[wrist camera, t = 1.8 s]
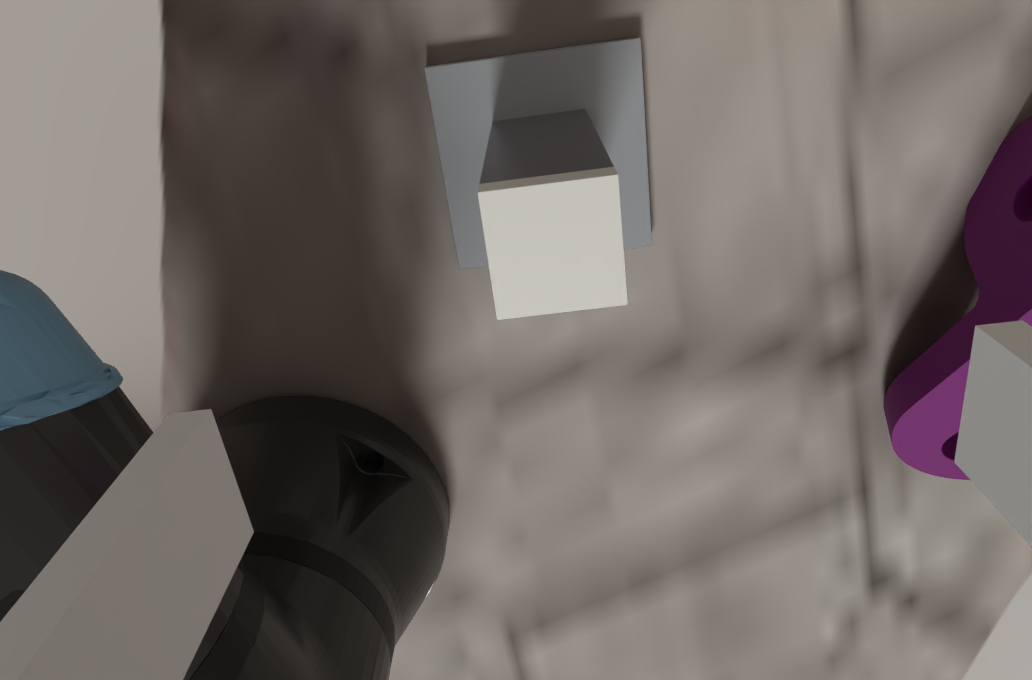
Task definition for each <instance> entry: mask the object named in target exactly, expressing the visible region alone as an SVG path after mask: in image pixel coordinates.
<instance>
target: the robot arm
mask: <svg viewBox="0 0 1032 680" xmlns="http://www.w3.org/2000/svg"><path fill="white" fill-rule="evenodd" d="M122 381H123V378H122V376H121V375H120V373H119V372H118V370H117V369H116V368H115V367H114V366H111V365H108V364H106V363H103V362H102V361H101V359H100V358H99V357H98V356H97V355H96V353H95V352H94V351H93V350H92V349H91V347H90V346H89V345H88V344H87V343H86V341H85V340H84V339H83V338H82V337H81V335H80V334H79V333H78V332H77V330H76V329H75V328H74V327H73V326H72V324H71V323H70V322H69V321H68V320H67V318H66V317H65V316H64V315H63V314H62V312H61V311H60V310H59V309H58V308H57V306H56V305H55V304H54V303H53V302H52V300H51V299H50V298H49V297H48V296H47V295H46V294H45V293H44V292H43V291H42V290H41V289H40V288H39V287H37V286H36V285H34V284H33V283H32V282H30V281H28V280H26V279H25V278H22V277H20V276H18V275H15V274H12V273H8V272H5V271H1V270H0V680H389V674H390V667H391V662H392V657H393V652H394V648H395V645H396V643H397V642H398V640H399V639H400V637H401V636H402V634H403V632H404V631H405V629H406V628H407V626H408V625H409V623H410V622H411V620H412V618H413V617H414V615H415V614H416V612H417V610H418V609H419V607H420V606H421V604H422V602H423V601H424V599H425V597H426V596H427V595H428V593H429V592H430V590H431V588H432V587H433V585H434V583H435V581H436V580H437V577H438V575H439V572H440V570H441V567H442V564H443V560H444V556H445V550H446V543H447V536H448V528H449V506H448V500H447V496H446V492H445V489H444V486H443V483H442V481H441V479H440V477H439V474H438V473H437V471H436V469H435V467H434V466H433V464H432V463H431V461H430V460H429V458H428V457H427V456H426V455H425V453H424V452H423V451H422V450H421V449H420V448H419V446H418V445H417V444H416V443H415V442H414V441H413V440H412V439H410V438H409V437H408V436H407V435H406V434H405V433H403V432H402V431H401V430H399V429H398V428H397V427H395V426H394V425H392V424H391V423H389V422H388V421H386V420H384V419H383V418H381V417H379V416H377V415H375V414H373V413H371V412H369V411H367V410H364V409H362V408H359V407H356V406H354V405H350V404H347V403H344V402H340V401H336V400H331V399H326V398H319V397H308V396H287V397H277V398H270V399H265V400H260V401H257V402H253V403H250V404H247V405H244V406H242V407H239V408H237V409H235V410H233V411H231V412H229V413H227V414H226V415H224V416H222V417H221V418H219V419H218V420H216V421H215V418H214V416H213V413H212V410H211V409H206V410H196V411H187V412H178V413H169V414H168V416H167V417H166V418H165V419H164V420H163V422H162V423H161V424H160V425H159V427H158V428H157V429H156V430H155V432H154V433H153V431H152V430H151V429H150V428H149V426H148V425H147V424H146V422H145V421H144V419H143V418H142V417H141V415H140V414H139V413H138V411H137V410H136V409H135V407H134V406H133V405H132V403H131V402H130V401H129V399H128V398H127V397H126V395H125V394H124V392H123V391H122V390H121V388H120V387H119V385H120V384H121V383H122ZM954 462H955V464H956V465H957V466H958V467H959V468H960V469H961V470H962V471H963V472H964V473H965V475H966V476H967V477H968V478H969V479H970V480H971V481H972V482H973V483H974V484H975V485H976V487H977V488H978V489H979V490H980V491H981V492H982V493H983V494H984V495H985V496H986V498H987V499H988V500H989V501H990V502H991V503H992V504H993V505H994V506H995V507H996V508H997V510H998V511H999V512H1000V513H1001V514H1002V515H1003V516H1004V517H1005V518H1006V519H1007V521H1008V522H1009V523H1010V524H1011V525H1012V526H1013V527H1014V528H1015V529H1016V530H1017V531H1018V533H1019V534H1020V535H1021V536H1022V537H1023V538H1024V539H1025V540H1026V541H1027V542H1028V544H1029V545H1030V546H1031V547H1032V326H1030V325H1029V324H1027V323H1026V322H1024V321H1023V320H1021V321H1012V322H1003V323H994V324H985V325H976V326H975V331H974V337H973V344H972V350H971V357H970V363H969V370H968V376H967V383H966V389H965V395H964V402H963V408H962V415H961V421H960V428H959V434H958V441H957V447H956V454H955V460H954Z"/></svg>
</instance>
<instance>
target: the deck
mask: <svg viewBox="0 0 1032 680" xmlns="http://www.w3.org/2000/svg"><path fill="white" fill-rule="evenodd" d="M425 74H426V80H427V85H428V91H429V97H430V103H431V108H432V114H433V120H434V126H435V132H436V137H437V143H438V149H439V155H440V160H441V166H442V172H443V178H444V183H445V189H446V195H447V201H448V206H449V212H450V218H451V224H452V229H453V235H454V241H455V247H456V253H457V258H458V264H459V270H462V269H470V268H478V267H486V266H489V263H488V257H487V251H486V244H485V238H484V231H483V225H482V218H481V212H480V205H479V199H478V188H479V183H480V178H481V173H482V169H483V164H484V159H485V154H486V150H487V145H488V140H489V135H490V130H491V126H492V121H499V120H506V119H514V118H521V117H529V116H536V115H544V114H551V113H559V112H566V111H574V110H581V109H586V111H587V113H588V115H589V117H590V119H591V121H592V123H593V125H594V127H595V129H596V131H597V133H598V135H599V137H600V139H601V141H602V143H603V145H604V147H605V149H606V151H607V153H608V155H609V157H610V159H611V161H612V163H613V165H614V167H615V169H616V171H617V173H618V180H619V194H620V208H621V222H622V236H623V250H626V249H635V248H643V247H651V246H652V238H651V220H650V201H649V183H648V165H647V146H646V128H645V109H644V91H643V73H642V54H641V38H639V37H633V38H626V39H619V40H612V41H605V42H597V43H590V44H583V45H576V46H569V47H561V48H554V49H547V50H540V51H533V52H525V53H518V54H511V55H504V56H497V57H490V58H482V59H475V60H468V61H461V62H454V63H446V64H439V65H432V66H426V67H425Z"/></svg>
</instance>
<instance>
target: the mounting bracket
mask: <svg viewBox="0 0 1032 680" xmlns="http://www.w3.org/2000/svg"><path fill="white" fill-rule="evenodd" d="M964 242H965V249H966V254H967V257H968V260H969V263H970V266H971V269H972V271H973V274H974V277H975V279H976V282H977V285H978V287H979V297H978V300H977V303H976V305H975V306H974V308H973V309H972V310H971V311H970V312H969V313H968V314H967V315H966V316H965V317H963V318H962V319H961V320H960V321H959V322H958V323H957V324H955V325H954V326H953V327H952V328H951V329H950V330H949V331H948V332H946V333H945V334H944V335H943V336H942V337H941V338H940V339H939V340H937V341H936V342H935V343H934V344H933V345H932V346H931V347H930V348H928V349H927V350H926V351H925V352H924V353H923V354H922V355H920V356H919V357H918V358H917V359H916V360H915V361H914V362H913V363H911V364H910V365H909V366H908V367H907V368H906V369H905V370H904V371H902V372H901V373H900V374H899V375H898V376H897V377H896V378H895V380H894V381H893V382H892V383H891V385H890V386H889V388H888V390H887V392H886V394H885V398H884V411H885V416H886V420H887V424H888V429H889V433H890V437H891V442H892V446H893V449H894V451H895V453H896V454H897V455H898V457H899V458H900V459H901V460H902V461H904V462H905V463H906V464H908V465H909V466H911V467H913V468H915V469H917V470H920V471H922V472H925V473H928V474H931V475H935V476H940V477H945V478H952V479H963V480H970V479H969V478H968V477H967V476H966V475H965V473H964V472H963V471H962V470H961V469H960V468H959V467H958V466H957V465H956V464H955V462H954V460H955V454H956V447H957V441H958V434H959V428H960V421H961V415H962V408H963V402H964V395H965V389H966V383H967V376H968V370H969V363H970V357H971V350H972V344H973V337H974V331H975V326H976V325H985V324H994V323H1003V322H1012V321H1021V320H1023V321H1024V322H1026V323H1027V324H1029V325H1030V326H1032V116H1031V117H1030V118H1028V119H1027V120H1026V121H1024V122H1023V123H1022V124H1021V125H1020V126H1018V127H1017V128H1016V129H1015V130H1014V131H1013V132H1012V133H1011V134H1010V135H1009V136H1008V137H1007V138H1006V140H1005V141H1004V142H1003V143H1002V144H1001V145H1000V147H999V149H998V151H997V153H996V154H995V156H994V158H993V160H992V162H991V164H990V165H989V167H988V169H987V171H986V173H985V174H984V176H983V178H982V180H981V182H980V184H979V185H978V187H977V189H976V191H975V193H974V195H973V196H972V198H971V200H970V202H969V206H968V210H967V214H966V219H965V228H964Z"/></svg>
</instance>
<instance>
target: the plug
mask: <svg viewBox="0 0 1032 680" xmlns="http://www.w3.org/2000/svg"><path fill="white" fill-rule="evenodd" d="M478 199H479V205H480V212H481V218H482V225H483V231H484V238H485V244H486V251H487V257H488V263H489V270H490V276H491V283H492V289H493V296H494V302H495V309H496V315H497V320H501V319H509V318H518V317H526V316H535V315H543V314H552V313H560V312H569V311H578V310H586V309H595V308H603V307H612V306H620V305H627V292H626V278H625V264H624V250H623V236H622V222H621V208H620V194H619V180H618V173H617V171H616V169H615V167H614V165H613V163H612V161H611V159H610V157H609V155H608V153H607V151H606V149H605V147H604V145H603V143H602V141H601V139H600V137H599V135H598V133H597V131H596V129H595V127H594V125H593V123H592V121H591V119H590V117H589V115H588V113H587V111H586V109H581V110H574V111H566V112H559V113H551V114H544V115H536V116H529V117H521V118H514V119H506V120H499V121H492V126H491V130H490V135H489V140H488V145H487V150H486V154H485V159H484V164H483V169H482V173H481V178H480V183H479V188H478Z"/></svg>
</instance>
